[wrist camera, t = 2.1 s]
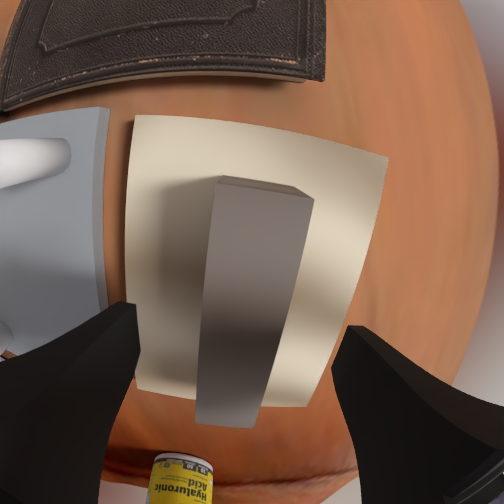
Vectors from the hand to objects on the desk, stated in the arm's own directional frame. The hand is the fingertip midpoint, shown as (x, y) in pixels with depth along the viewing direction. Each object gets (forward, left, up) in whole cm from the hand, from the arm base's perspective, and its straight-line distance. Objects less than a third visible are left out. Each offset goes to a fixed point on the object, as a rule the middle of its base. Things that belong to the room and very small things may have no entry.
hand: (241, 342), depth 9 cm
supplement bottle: (-19, +3, -4) cm, 20 cm away
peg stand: (0, +12, -4) cm, 13 cm away
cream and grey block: (0, 0, -4) cm, 4 cm away
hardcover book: (+20, +7, -5) cm, 22 cm away
